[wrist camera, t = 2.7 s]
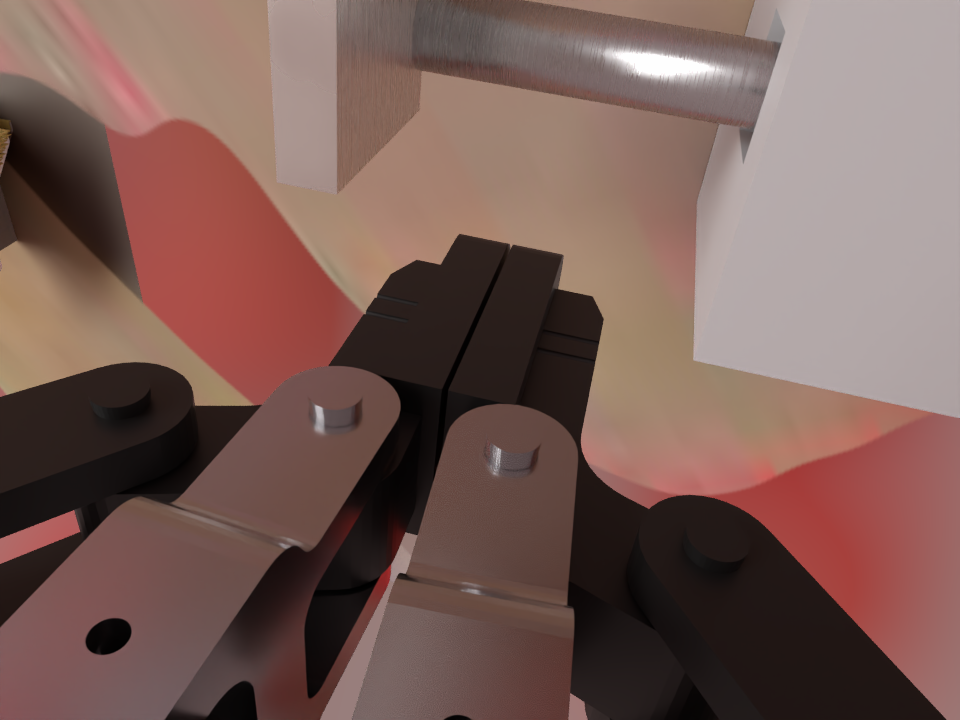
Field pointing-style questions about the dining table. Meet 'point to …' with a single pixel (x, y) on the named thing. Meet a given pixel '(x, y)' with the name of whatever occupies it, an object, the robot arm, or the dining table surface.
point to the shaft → (483, 70)
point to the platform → (64, 170)
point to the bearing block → (841, 207)
